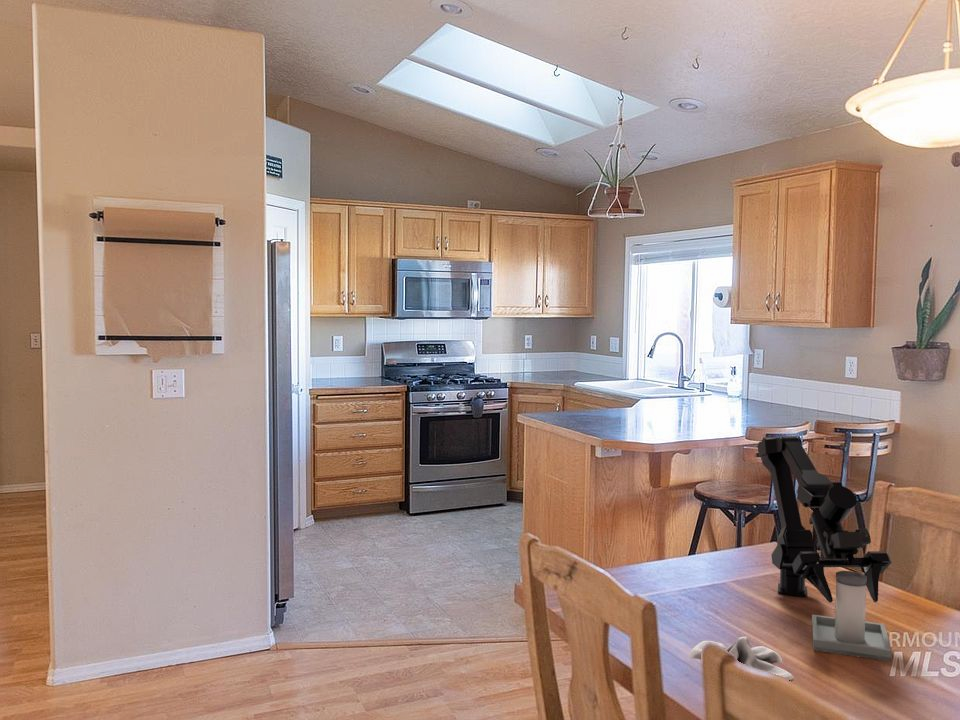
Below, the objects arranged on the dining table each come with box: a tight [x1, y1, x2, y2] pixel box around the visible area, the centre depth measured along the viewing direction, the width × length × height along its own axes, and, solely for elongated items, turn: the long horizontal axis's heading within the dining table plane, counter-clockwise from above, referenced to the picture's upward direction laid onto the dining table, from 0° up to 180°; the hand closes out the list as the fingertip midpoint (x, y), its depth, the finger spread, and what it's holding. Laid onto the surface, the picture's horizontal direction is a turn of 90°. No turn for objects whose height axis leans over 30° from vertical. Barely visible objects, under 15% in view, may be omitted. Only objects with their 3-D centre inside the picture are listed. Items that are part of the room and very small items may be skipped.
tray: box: [811, 614, 893, 663], centre depth 160 cm, size 14×14×2 cm
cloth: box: [688, 636, 794, 682], centre depth 149 cm, size 22×19×6 cm
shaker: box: [834, 570, 867, 644], centre depth 159 cm, size 6×6×13 cm
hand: (853, 601), depth 158 cm, fingers open, 9 cm apart
